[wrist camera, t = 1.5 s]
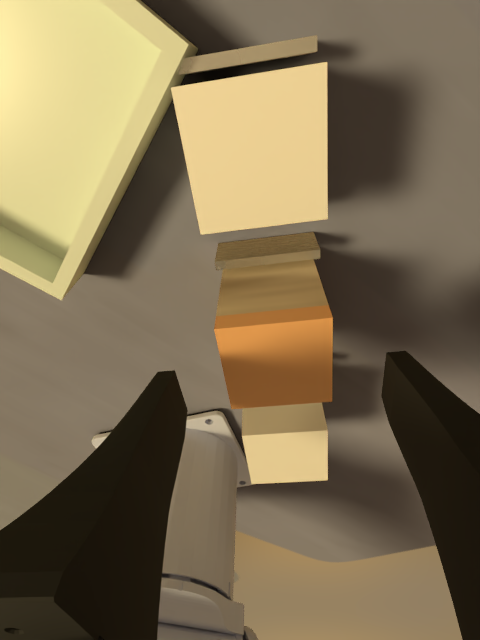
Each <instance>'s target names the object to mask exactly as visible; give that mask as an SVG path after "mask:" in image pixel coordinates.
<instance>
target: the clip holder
mask: <svg viewBox="0 0 480 640" xmlns="http://www.w3.org/2000/svg"><path fill="white" fill-rule="evenodd" d="M314 52H317V35H316V36H310V37H304V38H298V39H292V40H287V41H281V42H275V43H269V44H263V45H258V46H252V47H246V48H240V49H235V50H229V51H223V52H217V53H211V54H206V55H200V56H194V57H188V58H184V60H183V62H182V64H181V66H180V68H179V70H178V73H179V75H186V74H193V73H199V72H205V71H211V70H217V69H223V68H229V67H235V66H241V65H247V64H253V63H259V62H265V61H271V60H277V59H283V58H289V57H295V56H301V55H307V54H311V53H314ZM311 259H320V248H319V245H318V242H317V240H316V237H315V235H314V232H308V233H300V234H291V235H283V236H275V237H266V238H258V239H250V240H242V241H233V242H225V243H218V247H217V252H216V258H215V266H216V270H223V269H232V268H241V267H249V266H258V265H267V264H276V263H285V262H294V261H303V260H311Z"/></svg>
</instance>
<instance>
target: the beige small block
mask: <svg viewBox="0 0 480 640" xmlns="http://www.w3.org/2000/svg"><path fill="white" fill-rule="evenodd" d="M242 439H243V444H244V449H245V454H246V459H247V464H248V469H249V474H250V478H251V483H252V484H265V483H285V482H305V481H325V480H328V430H327V425H326V420H325V415H324V410H323V406H322V402H321V403H308V404H294V405H281V406H267V407H254V408H243V412H242Z"/></svg>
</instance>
